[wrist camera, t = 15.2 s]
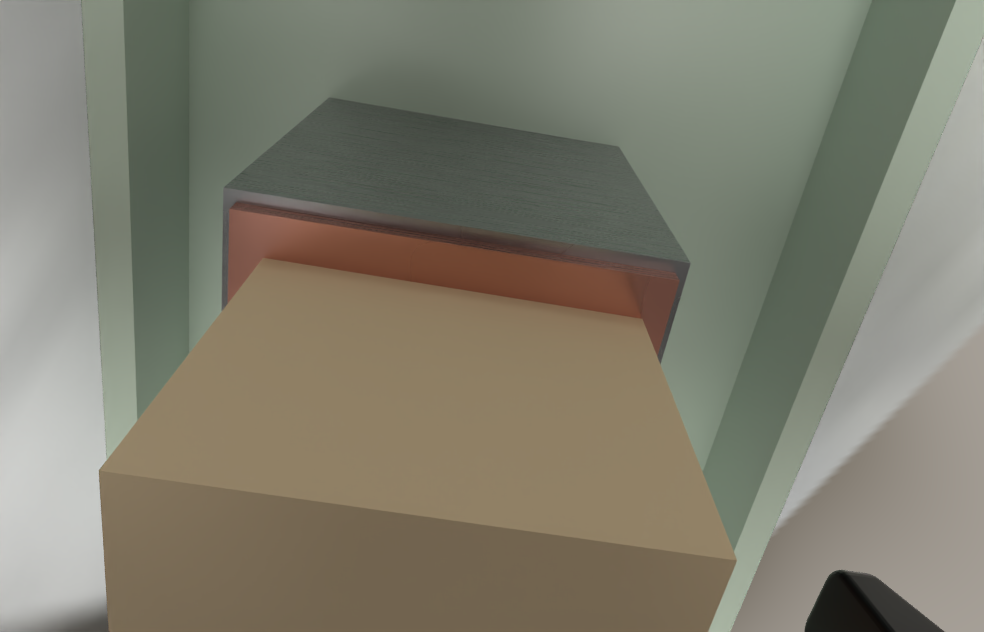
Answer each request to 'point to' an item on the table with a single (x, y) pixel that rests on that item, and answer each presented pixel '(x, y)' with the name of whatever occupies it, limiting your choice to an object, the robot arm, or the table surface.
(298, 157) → the tea tin
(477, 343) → the carton
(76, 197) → the table surface
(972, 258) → the table surface
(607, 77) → the tote
